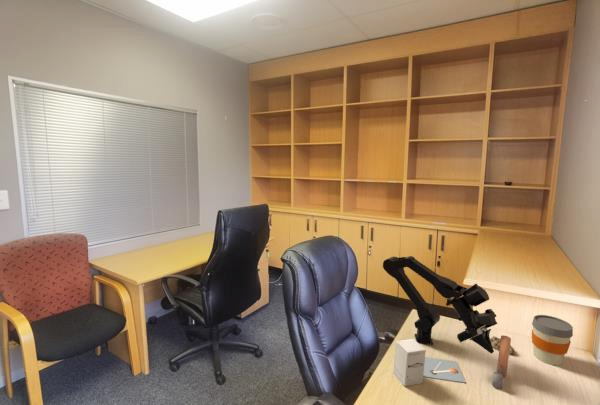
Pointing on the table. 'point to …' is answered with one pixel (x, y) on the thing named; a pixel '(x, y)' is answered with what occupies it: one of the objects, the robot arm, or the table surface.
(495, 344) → the mineral rock
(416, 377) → the supplement box
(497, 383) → the orange grey t-shaped piece
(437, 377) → the card
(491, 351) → the robot arm
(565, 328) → the reusable coffee cup
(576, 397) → the table surface
